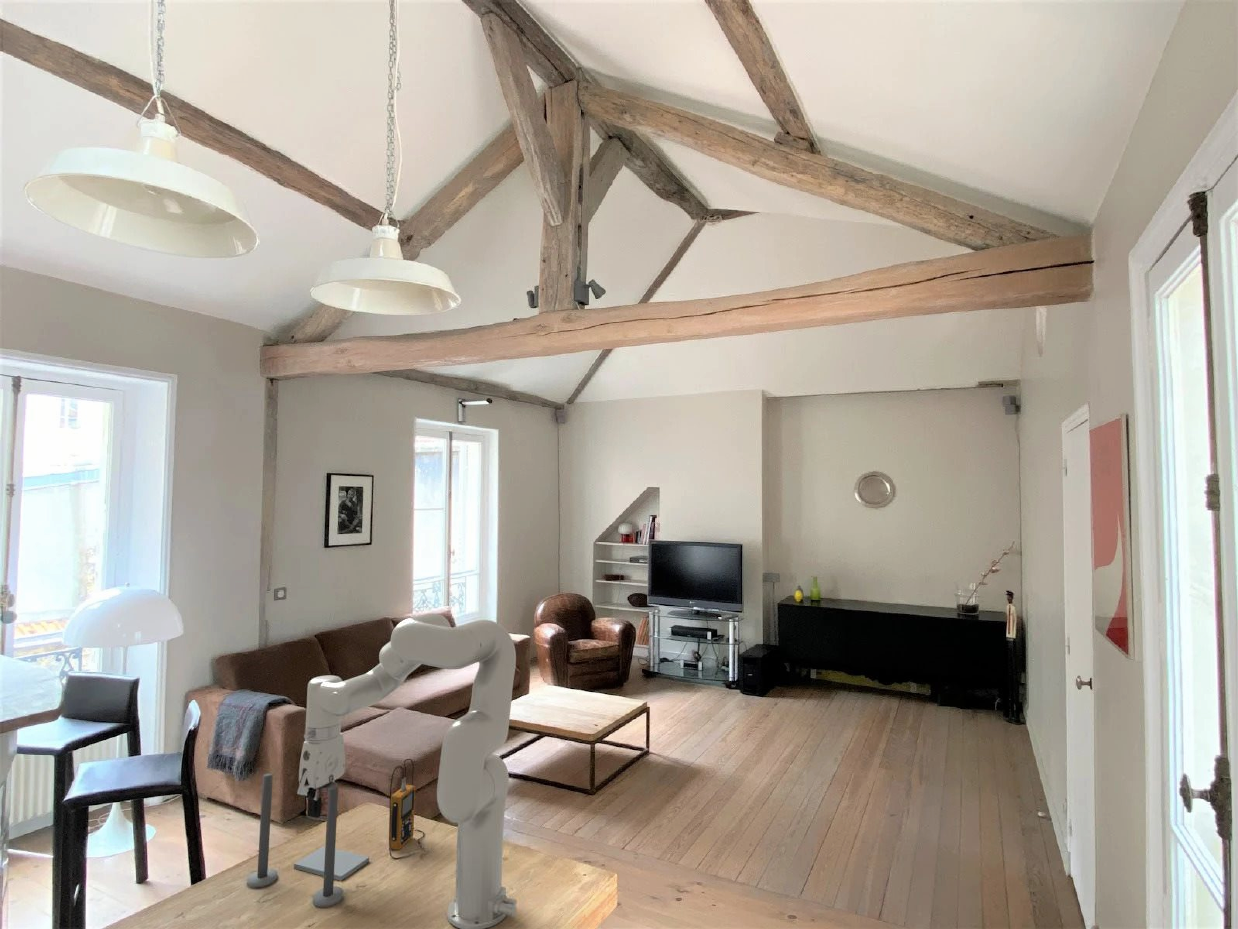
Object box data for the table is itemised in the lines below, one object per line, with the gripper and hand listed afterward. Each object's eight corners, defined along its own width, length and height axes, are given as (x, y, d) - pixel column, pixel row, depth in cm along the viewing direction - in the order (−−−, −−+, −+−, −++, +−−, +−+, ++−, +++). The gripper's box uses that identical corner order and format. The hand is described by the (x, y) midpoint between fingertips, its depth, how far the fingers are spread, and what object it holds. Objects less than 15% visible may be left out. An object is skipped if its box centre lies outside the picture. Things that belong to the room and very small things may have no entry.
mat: (369, 861, 157) (369, 857, 157) (341, 881, 149) (341, 876, 149) (323, 850, 162) (323, 846, 162) (293, 868, 153) (294, 863, 154)
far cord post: (283, 876, 150) (288, 772, 152) (260, 890, 144) (266, 782, 146) (263, 871, 152) (269, 768, 154) (240, 884, 146) (246, 778, 148)
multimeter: (418, 863, 157) (421, 776, 158) (380, 857, 159) (383, 772, 160) (446, 833, 171) (449, 755, 173) (411, 829, 173) (414, 751, 175)
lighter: (302, 817, 152) (300, 775, 152) (313, 809, 155) (311, 767, 155) (331, 822, 150) (329, 779, 149) (341, 813, 153) (340, 771, 153)
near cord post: (349, 894, 143) (354, 785, 145) (328, 910, 138) (333, 796, 139) (327, 888, 145) (332, 781, 147) (306, 903, 140) (311, 792, 142)
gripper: (309, 744, 144) (305, 832, 143) (360, 723, 159) (357, 801, 158) (282, 740, 147) (278, 826, 145) (335, 719, 162) (332, 797, 160)
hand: (319, 812), depth 152 cm, fingers closed on lighter, 2 cm apart
